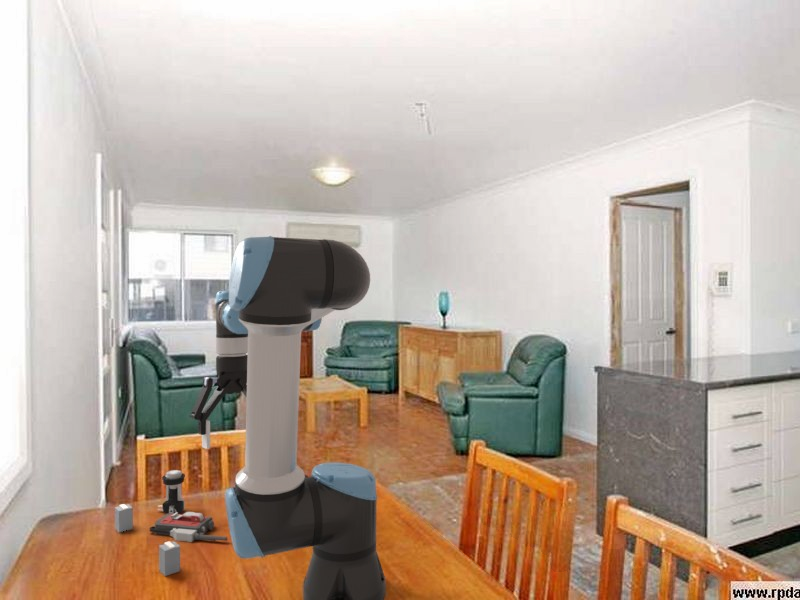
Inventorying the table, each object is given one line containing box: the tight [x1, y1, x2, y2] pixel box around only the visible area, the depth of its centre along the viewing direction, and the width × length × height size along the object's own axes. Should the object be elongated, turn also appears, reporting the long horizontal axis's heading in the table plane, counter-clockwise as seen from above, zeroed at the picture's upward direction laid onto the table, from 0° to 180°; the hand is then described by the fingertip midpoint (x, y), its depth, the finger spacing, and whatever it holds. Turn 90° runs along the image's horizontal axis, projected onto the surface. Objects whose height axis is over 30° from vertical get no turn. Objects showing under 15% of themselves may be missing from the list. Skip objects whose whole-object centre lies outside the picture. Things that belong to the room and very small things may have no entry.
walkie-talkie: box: [149, 511, 228, 543], centre depth 128 cm, size 9×4×20 cm
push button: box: [157, 469, 186, 515], centre depth 141 cm, size 7×5×10 cm
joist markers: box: [114, 503, 181, 577], centre depth 121 cm, size 30×3×5 cm, turn 44°
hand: (232, 442), depth 135 cm, fingers open, 13 cm apart
